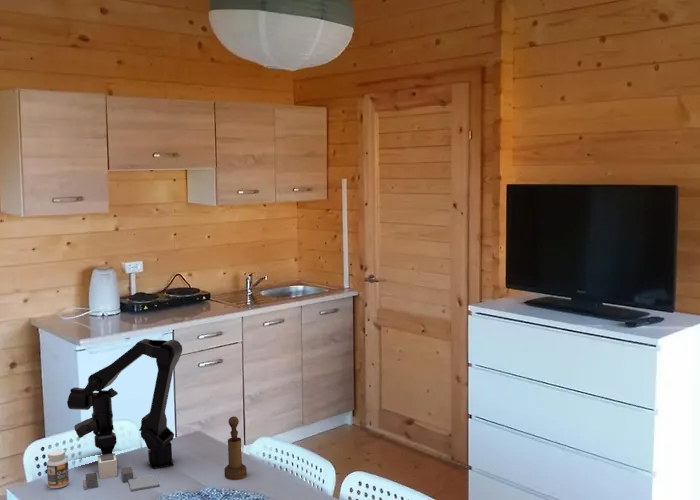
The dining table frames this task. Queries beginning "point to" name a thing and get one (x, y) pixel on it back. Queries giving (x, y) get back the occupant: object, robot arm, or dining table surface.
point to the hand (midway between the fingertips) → (105, 457)
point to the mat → (143, 482)
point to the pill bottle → (57, 469)
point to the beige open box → (107, 465)
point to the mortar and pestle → (234, 454)
